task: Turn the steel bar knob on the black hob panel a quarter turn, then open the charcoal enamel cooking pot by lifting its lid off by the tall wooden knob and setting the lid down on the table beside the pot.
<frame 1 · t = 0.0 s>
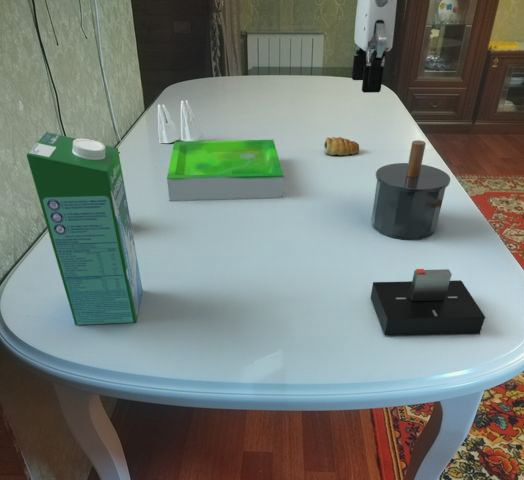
hand: (365, 85, 91), 24 cm above the table, tool pointing down, fingers open, 9 cm apart
pastry: (338, 153, 136), on the table
pot: (403, 225, 101), on the table
hob panel: (422, 315, 77), on the table
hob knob: (429, 284, 74), point 5 cm above the table, hinge at 0.0°
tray: (225, 179, 121), on the table
mate gourd: (107, 229, 100), on the table
milk carton: (110, 308, 79), on the table
lid: (412, 178, 95), point 9 cm above the table, touching pot
shaker set: (181, 143, 143), on the table
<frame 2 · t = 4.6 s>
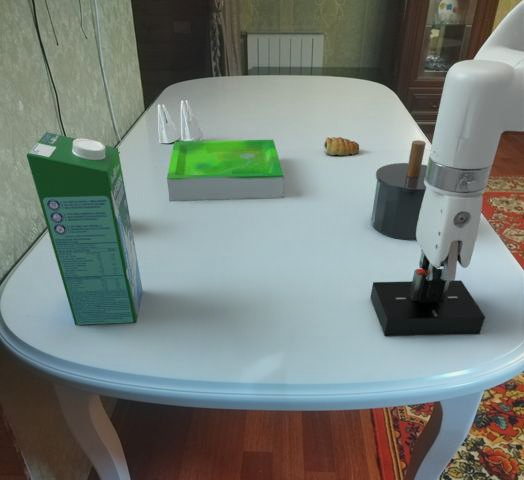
hand: (427, 296, 75), 3 cm above the table, tool pointing down, fingers closed
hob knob: (429, 284, 74), point 5 cm above the table, hinge at 0.0°, touching gripper
everything else where it was.
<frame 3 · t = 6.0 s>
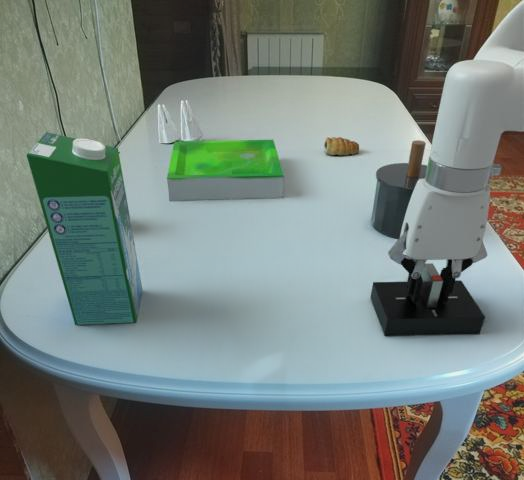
hand: (427, 296, 75), 3 cm above the table, tool pointing down, fingers open, 3 cm apart
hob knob: (429, 284, 74), point 5 cm above the table, hinge at 89.5°
everything else where it was.
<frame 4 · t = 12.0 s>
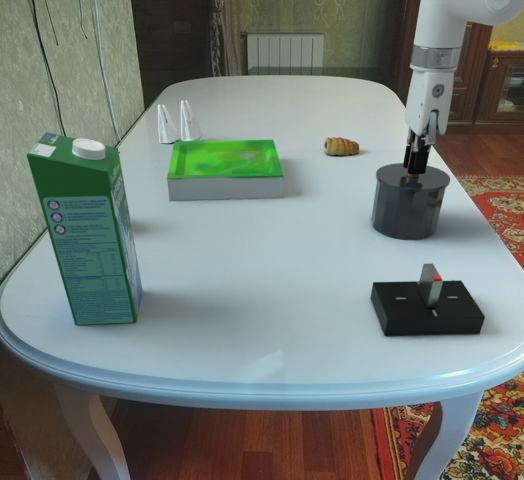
hand: (413, 169, 94), 11 cm above the table, tool pointing down, fingers closed on lid, 2 cm apart
lid: (412, 178, 95), point 10 cm above the table, touching gripper, pot
everything else where it was.
when the fingers open (2 cm above the table, at t = 19.8 s): lid stays where it is, point 1 cm above the table.
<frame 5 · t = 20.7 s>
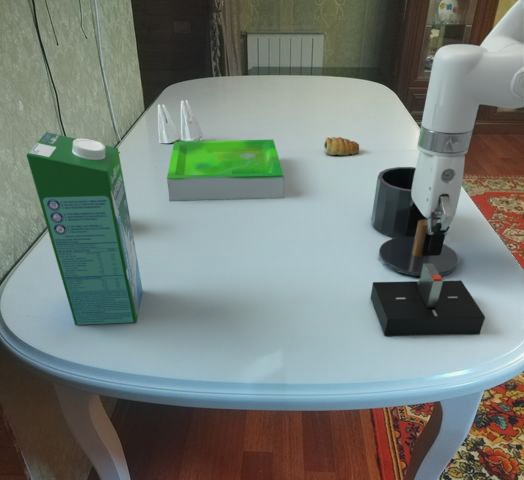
hand: (422, 241, 88), 4 cm above the table, tool pointing down, fingers open, 9 cm apart
lid: (417, 256, 90), point 1 cm above the table
everything else where it was.
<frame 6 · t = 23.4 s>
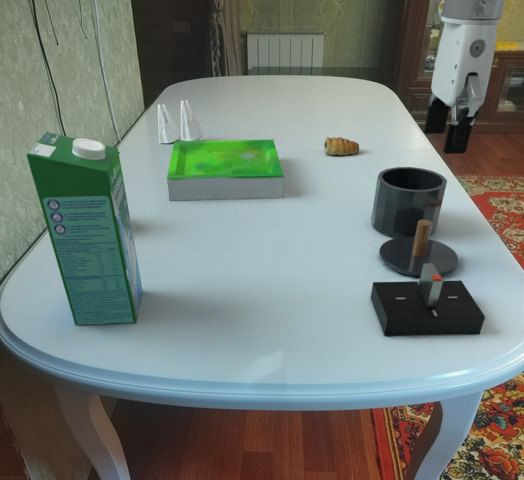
hand: (443, 142, 78), 20 cm above the table, tool pointing down, fingers open, 9 cm apart
nothing on the table moved.
at the end: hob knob at +90° (first picture: +0°); lid inside the target area on the table beside the pot (0.8 cm from its centre), point 0.6 cm above the table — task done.
